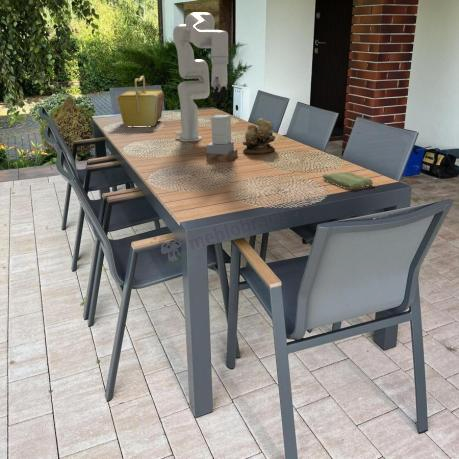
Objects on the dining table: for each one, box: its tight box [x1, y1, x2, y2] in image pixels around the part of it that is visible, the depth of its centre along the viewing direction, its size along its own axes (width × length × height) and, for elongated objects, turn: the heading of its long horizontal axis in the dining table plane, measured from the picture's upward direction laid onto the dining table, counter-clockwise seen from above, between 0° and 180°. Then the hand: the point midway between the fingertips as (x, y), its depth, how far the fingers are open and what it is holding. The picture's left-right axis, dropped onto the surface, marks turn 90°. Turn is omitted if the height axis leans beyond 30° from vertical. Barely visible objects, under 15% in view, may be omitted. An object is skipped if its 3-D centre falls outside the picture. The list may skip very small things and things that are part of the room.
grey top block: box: [206, 140, 235, 155], centre depth 227 cm, size 10×10×4 cm
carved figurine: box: [242, 117, 276, 156], centre depth 237 cm, size 18×12×17 cm, turn 117°
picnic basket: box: [116, 75, 165, 127], centre depth 310 cm, size 29×26×30 cm
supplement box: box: [210, 114, 232, 144], centre depth 224 cm, size 7×7×13 cm
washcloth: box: [322, 171, 374, 190], centre depth 190 cm, size 13×18×3 cm
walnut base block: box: [205, 148, 238, 163], centre depth 229 cm, size 12×12×4 cm
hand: (220, 99), depth 220 cm, fingers open, 9 cm apart
